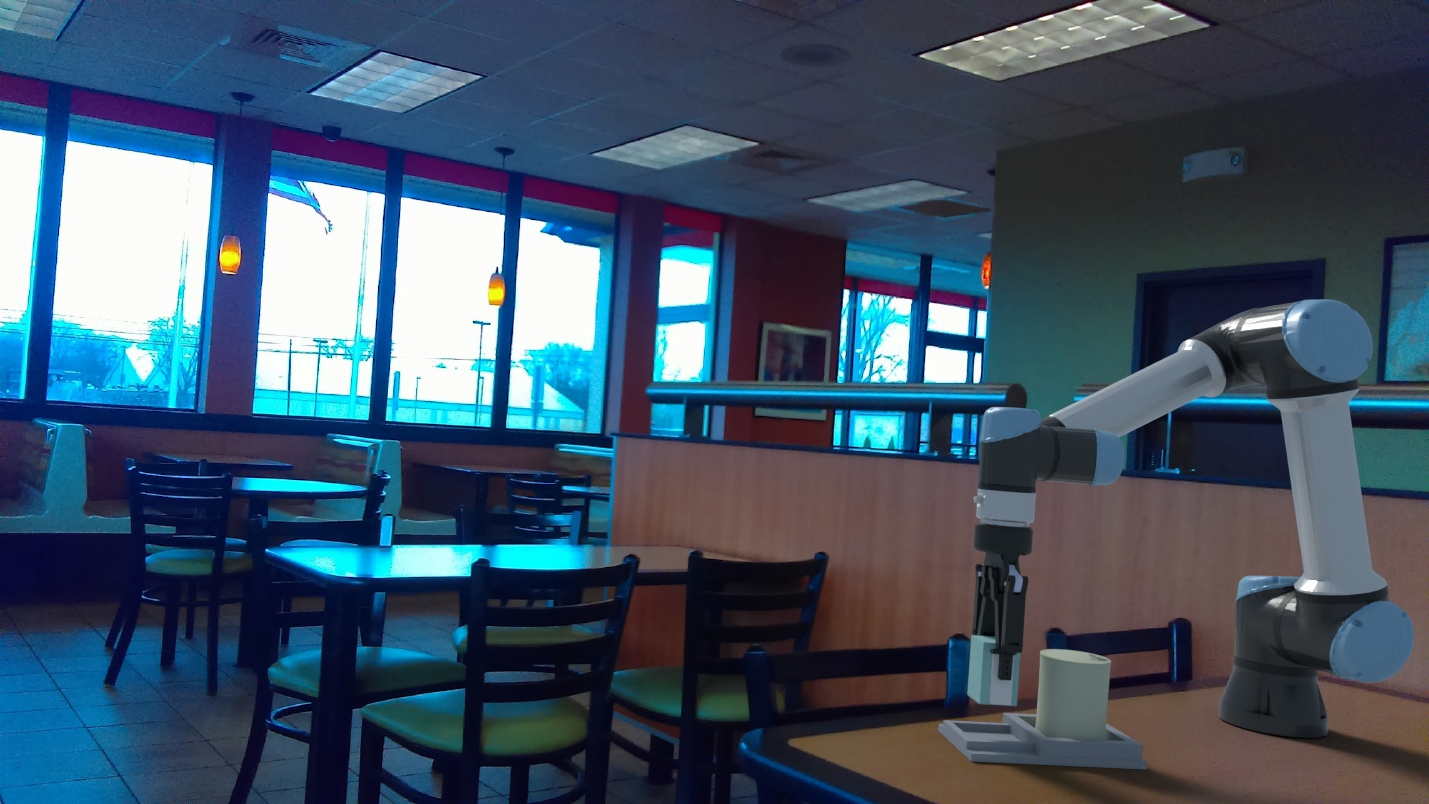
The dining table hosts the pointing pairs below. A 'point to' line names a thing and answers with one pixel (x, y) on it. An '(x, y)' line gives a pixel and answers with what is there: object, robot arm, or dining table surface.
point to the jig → (1039, 744)
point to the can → (1072, 694)
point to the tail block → (986, 670)
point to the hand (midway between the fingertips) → (992, 698)
